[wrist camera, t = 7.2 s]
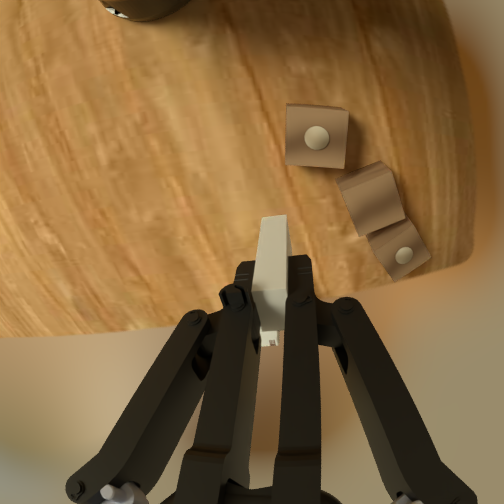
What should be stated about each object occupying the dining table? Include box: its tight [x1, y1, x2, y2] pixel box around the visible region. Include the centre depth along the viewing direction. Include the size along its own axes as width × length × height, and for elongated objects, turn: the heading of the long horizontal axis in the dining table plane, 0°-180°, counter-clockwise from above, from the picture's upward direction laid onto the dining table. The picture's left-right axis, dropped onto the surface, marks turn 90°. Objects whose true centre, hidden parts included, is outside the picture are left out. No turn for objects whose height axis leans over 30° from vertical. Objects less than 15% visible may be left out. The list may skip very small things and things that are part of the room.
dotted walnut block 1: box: [285, 103, 349, 169], centre depth 33 cm, size 7×7×5 cm
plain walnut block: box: [335, 161, 405, 237], centre depth 37 cm, size 7×7×5 cm
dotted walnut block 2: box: [366, 212, 432, 282], centre depth 40 cm, size 7×7×5 cm
